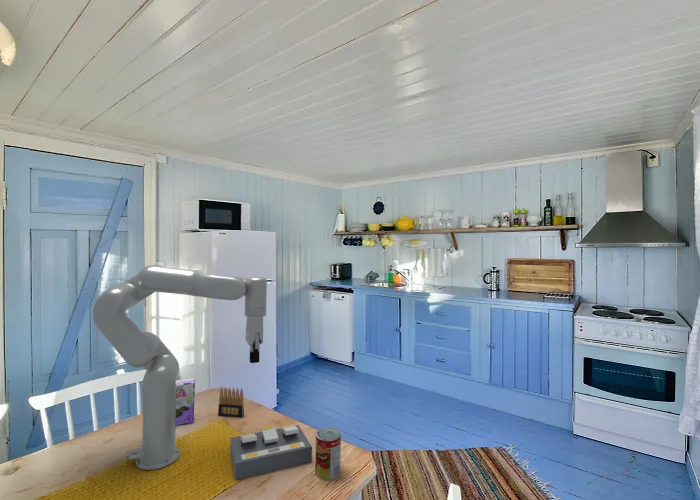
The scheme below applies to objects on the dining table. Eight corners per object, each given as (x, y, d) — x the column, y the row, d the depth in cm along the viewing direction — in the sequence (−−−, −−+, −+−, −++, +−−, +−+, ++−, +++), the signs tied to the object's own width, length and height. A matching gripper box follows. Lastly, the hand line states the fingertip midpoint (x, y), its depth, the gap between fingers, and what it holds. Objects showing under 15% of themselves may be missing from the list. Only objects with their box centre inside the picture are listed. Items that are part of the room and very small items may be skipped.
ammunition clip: (244, 416, 147) (244, 387, 147) (242, 418, 145) (242, 389, 145) (220, 414, 148) (220, 385, 148) (217, 416, 146) (218, 387, 146)
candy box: (154, 429, 134) (155, 386, 134) (156, 422, 140) (157, 381, 140) (193, 423, 139) (194, 382, 140) (194, 417, 145) (195, 377, 145)
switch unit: (235, 480, 105) (235, 459, 105) (230, 452, 120) (230, 433, 120) (311, 461, 115) (311, 442, 115) (298, 438, 129) (298, 421, 130)
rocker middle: (264, 443, 115) (265, 440, 114) (261, 430, 121) (261, 426, 121) (278, 440, 116) (278, 437, 116) (273, 427, 123) (274, 424, 123)
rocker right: (286, 435, 118) (285, 431, 118) (281, 430, 124) (281, 426, 124) (298, 432, 119) (298, 428, 120) (293, 428, 126) (293, 424, 126)
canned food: (323, 461, 115) (324, 425, 115) (344, 469, 111) (345, 431, 112) (310, 475, 108) (310, 436, 108) (332, 483, 104) (332, 442, 105)
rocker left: (242, 442, 112) (242, 438, 112) (240, 439, 118) (240, 434, 118) (256, 440, 114) (256, 435, 114) (253, 436, 120) (253, 432, 120)
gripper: (242, 308, 132) (240, 357, 131) (247, 315, 118) (246, 369, 118) (262, 307, 135) (261, 355, 134) (270, 314, 121) (269, 367, 121)
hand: (254, 362), depth 126 cm, fingers closed
